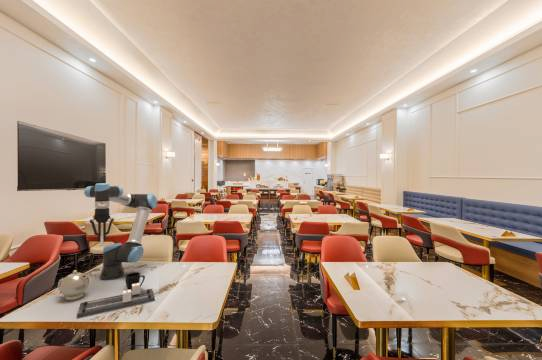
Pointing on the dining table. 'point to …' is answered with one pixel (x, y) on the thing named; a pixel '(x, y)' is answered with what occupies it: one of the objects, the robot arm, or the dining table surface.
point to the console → (114, 303)
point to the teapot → (73, 285)
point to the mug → (133, 279)
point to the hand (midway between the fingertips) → (102, 245)
